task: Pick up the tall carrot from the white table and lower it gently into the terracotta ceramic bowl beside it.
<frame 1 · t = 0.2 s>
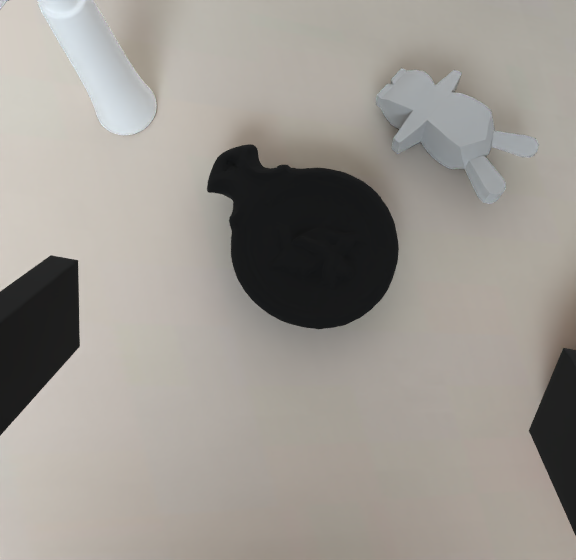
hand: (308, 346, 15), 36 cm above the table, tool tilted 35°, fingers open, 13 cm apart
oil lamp: (296, 238, 52), on the table
cosmetic bottle: (127, 108, 55), on the table
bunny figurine: (443, 141, 54), on the table
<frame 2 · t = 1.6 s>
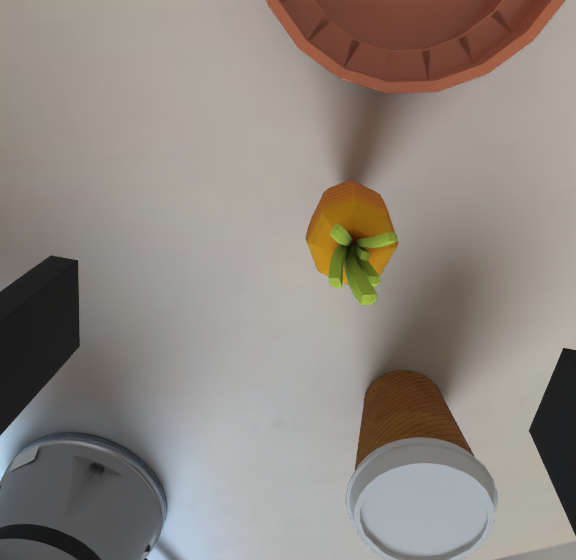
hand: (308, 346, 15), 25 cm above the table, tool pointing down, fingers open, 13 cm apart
carrot: (348, 194, 39), on the table
disposable coffee cup: (402, 401, 45), on the table
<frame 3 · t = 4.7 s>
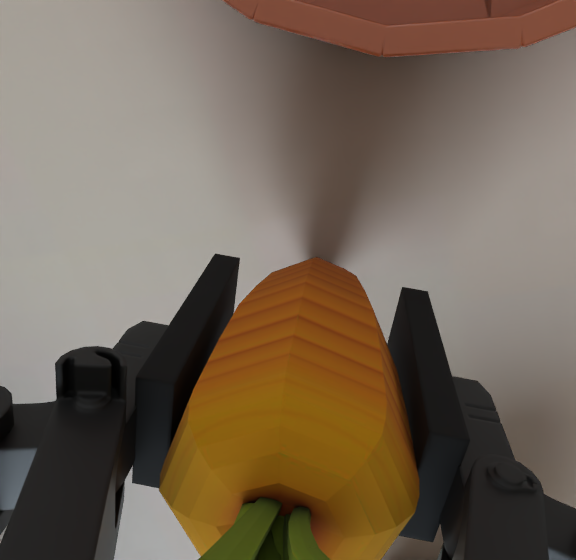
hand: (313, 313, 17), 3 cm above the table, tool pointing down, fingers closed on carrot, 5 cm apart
carrot: (319, 269, 20), on the table, touching gripper
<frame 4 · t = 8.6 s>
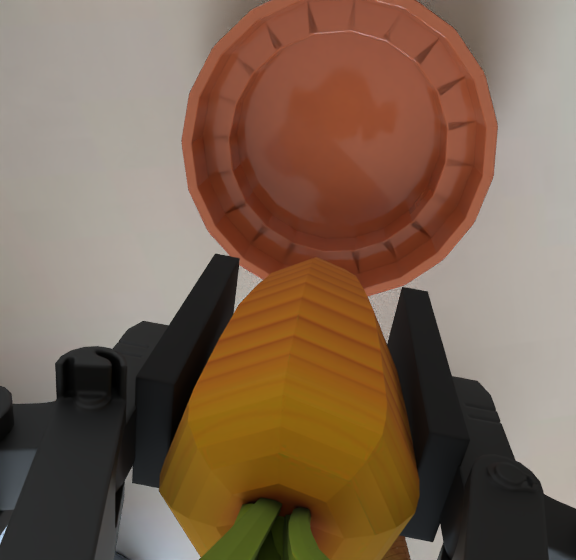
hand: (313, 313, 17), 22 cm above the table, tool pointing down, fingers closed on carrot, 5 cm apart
bowl: (337, 140, 36), on the table
carrot: (319, 269, 20), point 18 cm above the table, touching gripper
disposable coffee cup: (364, 516, 49), on the table
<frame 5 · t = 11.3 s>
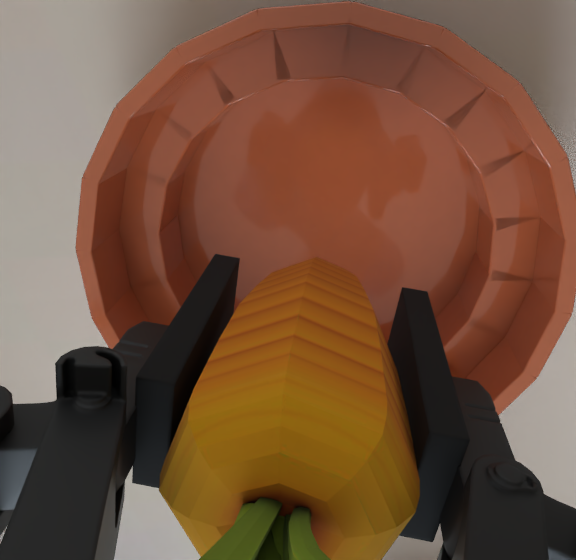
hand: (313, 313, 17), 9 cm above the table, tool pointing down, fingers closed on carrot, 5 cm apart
bowl: (325, 226, 24), on the table
carrot: (319, 269, 20), point 5 cm above the table, touching gripper
when the fingers open (4 cm above the table, at t = 12.8 s): carrot stays where it is, resting on bowl.
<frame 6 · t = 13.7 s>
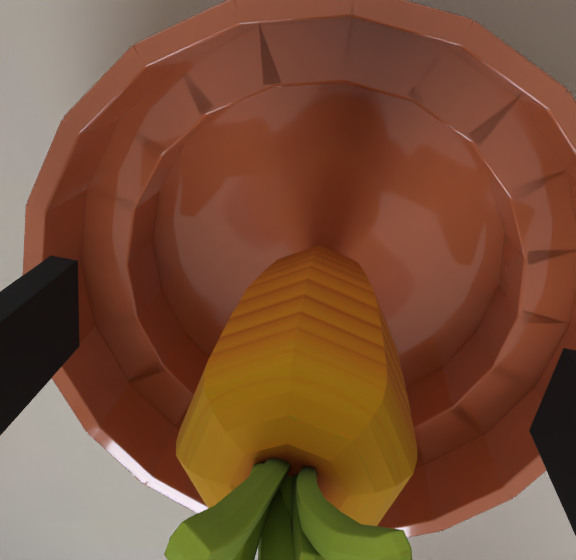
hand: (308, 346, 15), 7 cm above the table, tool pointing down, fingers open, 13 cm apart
bowl: (323, 253, 21), on the table
carrot: (322, 258, 21), point 1 cm above the table, touching bowl
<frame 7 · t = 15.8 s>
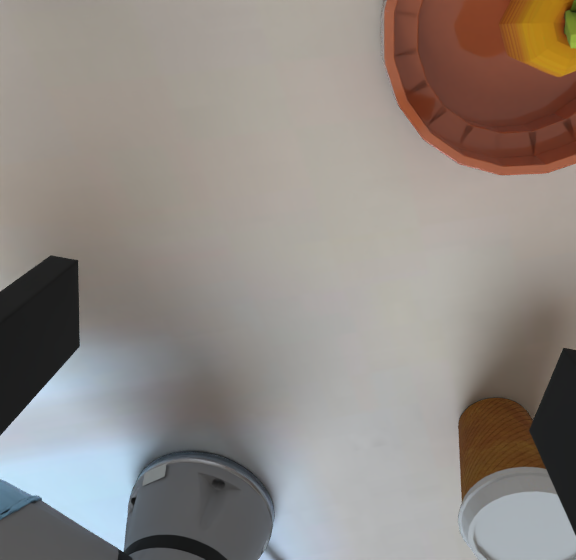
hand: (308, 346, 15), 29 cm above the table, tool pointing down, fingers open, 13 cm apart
bowl: (512, 24, 36), on the table
carrot: (515, 23, 36), point 1 cm above the table, touching bowl
disposable coffee cup: (493, 424, 50), on the table
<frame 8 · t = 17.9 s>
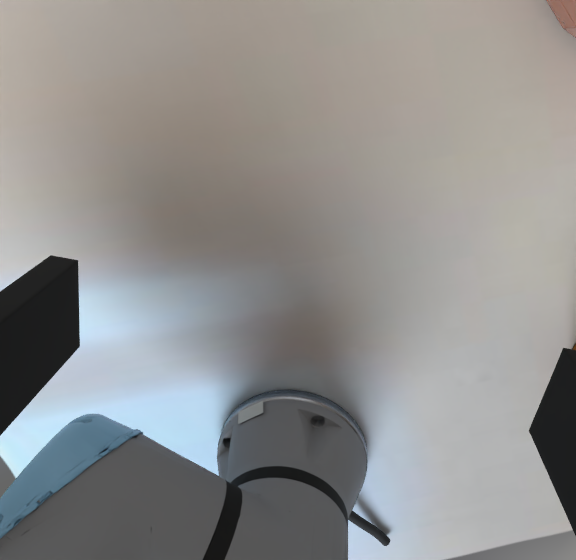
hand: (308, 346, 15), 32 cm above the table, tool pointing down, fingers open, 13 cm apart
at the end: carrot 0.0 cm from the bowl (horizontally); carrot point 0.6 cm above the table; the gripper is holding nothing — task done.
